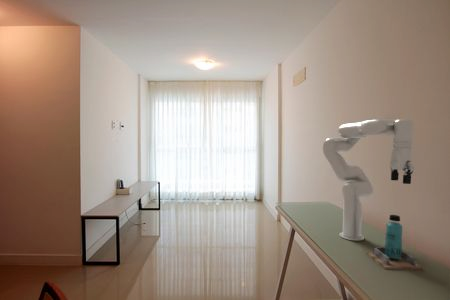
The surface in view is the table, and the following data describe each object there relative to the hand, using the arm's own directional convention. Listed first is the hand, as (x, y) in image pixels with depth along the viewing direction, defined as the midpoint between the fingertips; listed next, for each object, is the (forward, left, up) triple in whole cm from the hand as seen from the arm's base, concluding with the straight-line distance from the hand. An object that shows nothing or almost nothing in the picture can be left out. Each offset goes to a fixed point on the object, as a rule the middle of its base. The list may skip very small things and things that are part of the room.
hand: (400, 181), depth 128 cm
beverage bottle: (+6, -6, -35) cm, 36 cm away
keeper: (+6, -6, -35) cm, 36 cm away
